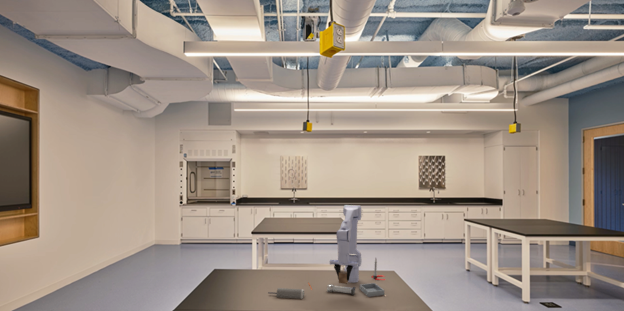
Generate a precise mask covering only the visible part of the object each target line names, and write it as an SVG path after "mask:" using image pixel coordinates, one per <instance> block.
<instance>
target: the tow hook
mask: <svg viewBox="0 0 624 311" xmlns="http://www.w3.org/2000/svg"><path fill="white" fill-rule="evenodd" d="M377 266H378V261H377V257H375V260H374V268H373V269H374V270H373V275H371V278H373V279H374V280H375V281H386V278H382V277H385V275H382V274H381V275H378V270H377V268H378V267H377Z"/></svg>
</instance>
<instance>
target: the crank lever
mask: <svg viewBox="0 0 624 311" xmlns="http://www.w3.org/2000/svg"><path fill="white" fill-rule="evenodd" d="M326 292H328V293H334V292H337V293H344V294H351V295H353V296H354V295H355V293H356V287H355V286H352V287H350V286H340V285H334V284H332V283H329V284H327V285H326Z"/></svg>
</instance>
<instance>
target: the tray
mask: <svg viewBox="0 0 624 311" xmlns="http://www.w3.org/2000/svg"><path fill="white" fill-rule="evenodd" d="M359 290H360V291H361V292H362V293H363V294H365V296H367V297H375V296H376V297H378V296H385V289H384V288H382V287H381V286H379V284H377V283H375V282H370V283H360V284H359Z"/></svg>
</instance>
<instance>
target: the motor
mask: <svg viewBox="0 0 624 311" xmlns="http://www.w3.org/2000/svg"><path fill="white" fill-rule="evenodd" d="M307 283H308V286H309V287H310V289H311V290H313V289H312V286H311V284H310V282H307ZM267 294H269V295H273V294H274V295H276V298H283V299H284V298H285V299H304V297H305V289H303V288H301V289H300V288H281V287H278V288H277V290H276V292H271V291H268V292H267Z"/></svg>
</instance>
